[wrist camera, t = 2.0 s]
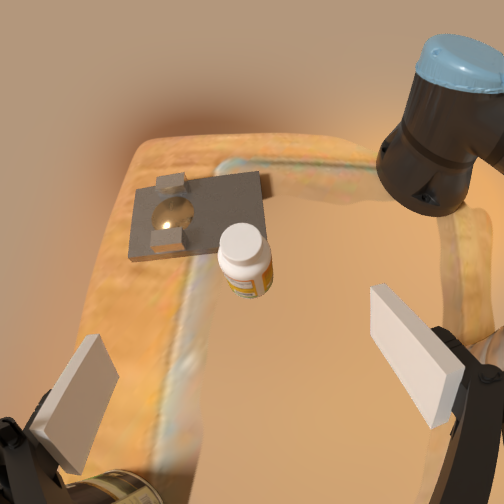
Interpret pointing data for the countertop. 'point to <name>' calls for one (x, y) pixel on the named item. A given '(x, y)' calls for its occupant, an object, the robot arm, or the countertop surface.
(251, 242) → the supplement bottle
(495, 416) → the robot arm
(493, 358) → the plastic bottle
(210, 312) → the countertop surface
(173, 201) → the hinge plate
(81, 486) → the coffee can
